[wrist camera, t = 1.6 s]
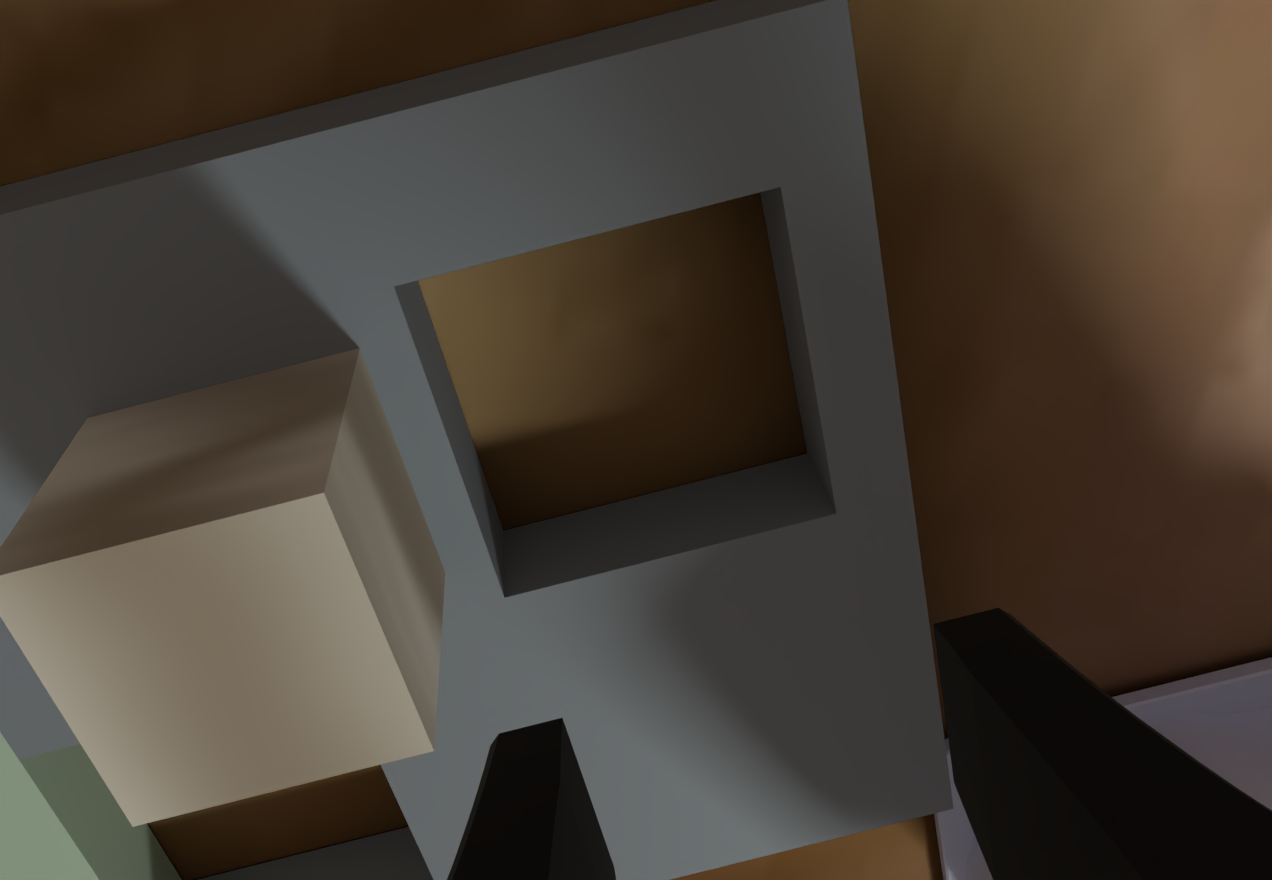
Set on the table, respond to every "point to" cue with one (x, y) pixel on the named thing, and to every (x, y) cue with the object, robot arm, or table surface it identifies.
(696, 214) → the table surface
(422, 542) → the block
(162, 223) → the board
